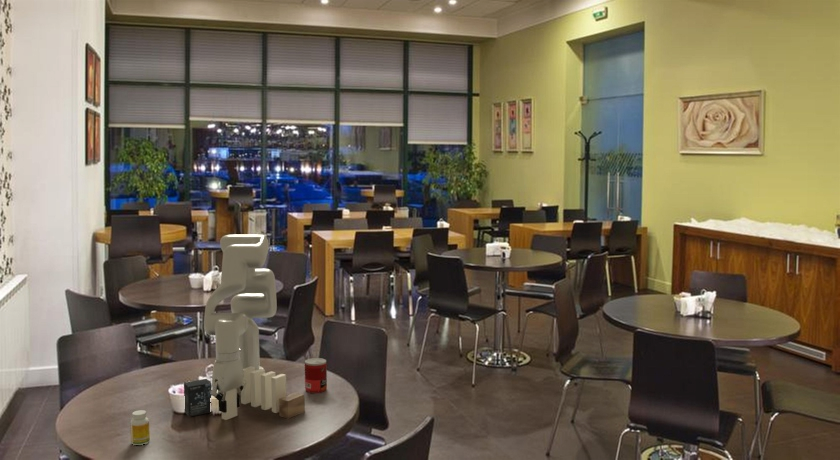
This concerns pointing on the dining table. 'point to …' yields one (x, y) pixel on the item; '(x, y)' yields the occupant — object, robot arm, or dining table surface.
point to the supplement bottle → (139, 428)
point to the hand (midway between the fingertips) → (229, 408)
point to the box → (197, 397)
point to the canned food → (315, 375)
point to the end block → (291, 405)
